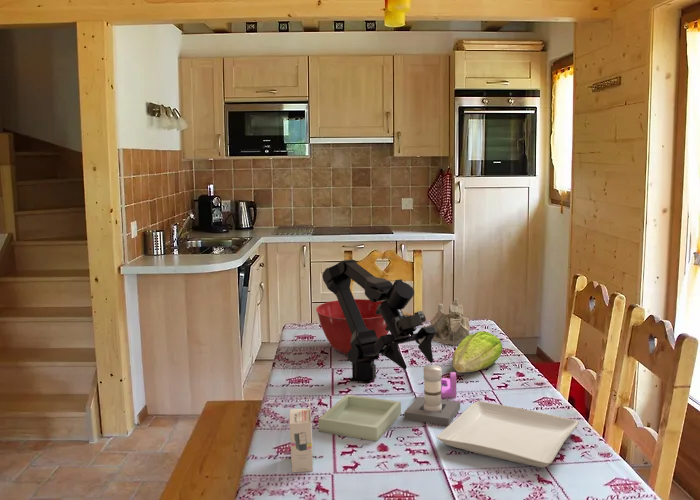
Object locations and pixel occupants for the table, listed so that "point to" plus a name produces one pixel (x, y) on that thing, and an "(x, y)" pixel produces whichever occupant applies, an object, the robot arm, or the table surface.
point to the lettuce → (477, 352)
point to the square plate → (509, 433)
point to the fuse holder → (443, 418)
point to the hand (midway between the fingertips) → (419, 365)
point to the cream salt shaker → (432, 388)
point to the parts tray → (360, 417)
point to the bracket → (449, 386)
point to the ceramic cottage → (450, 325)
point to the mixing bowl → (339, 328)
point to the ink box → (301, 440)
